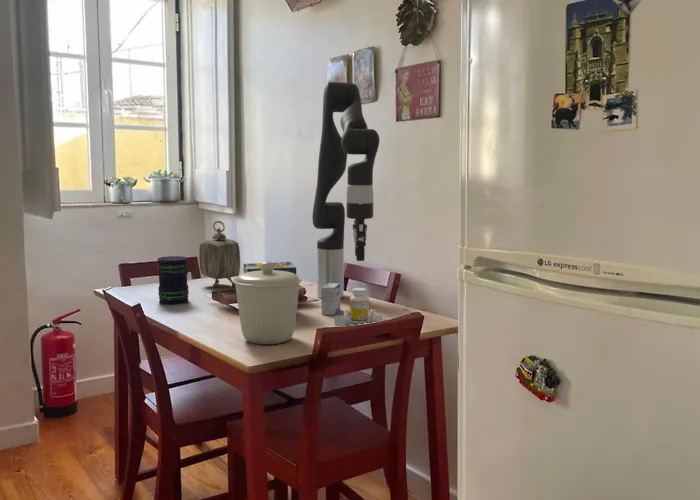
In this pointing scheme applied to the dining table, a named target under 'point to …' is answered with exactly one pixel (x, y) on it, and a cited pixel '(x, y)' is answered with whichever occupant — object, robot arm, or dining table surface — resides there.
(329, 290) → the medicine box
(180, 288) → the storage jar
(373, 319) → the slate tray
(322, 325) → the dining table surface
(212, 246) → the tabletop clock
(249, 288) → the canister
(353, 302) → the supplement bottle
